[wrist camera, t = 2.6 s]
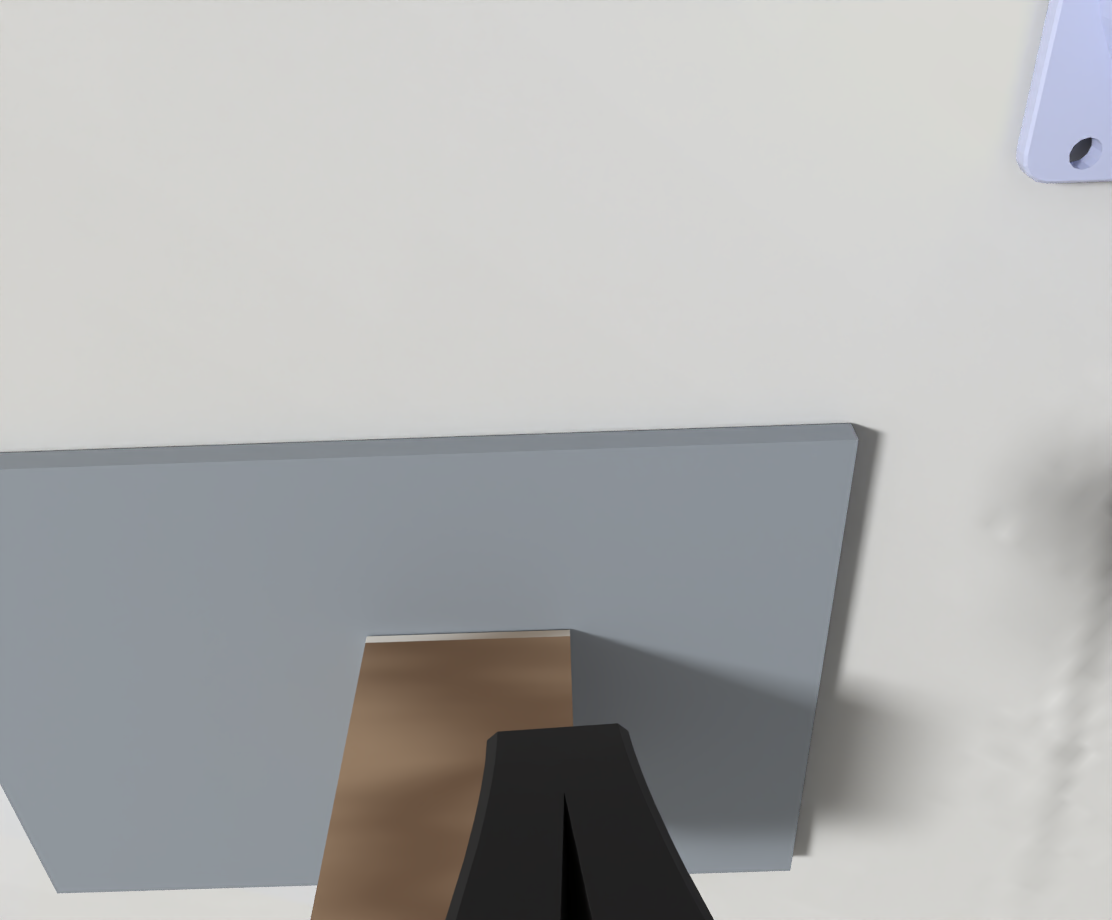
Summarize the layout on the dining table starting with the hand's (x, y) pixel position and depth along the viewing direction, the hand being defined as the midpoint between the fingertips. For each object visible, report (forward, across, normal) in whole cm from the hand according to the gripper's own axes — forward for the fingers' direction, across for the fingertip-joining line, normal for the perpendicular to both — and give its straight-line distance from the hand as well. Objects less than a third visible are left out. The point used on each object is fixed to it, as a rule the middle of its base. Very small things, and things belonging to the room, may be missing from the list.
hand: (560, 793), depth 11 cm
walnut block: (+10, +2, +9) cm, 14 cm away
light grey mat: (+11, +4, +9) cm, 15 cm away
